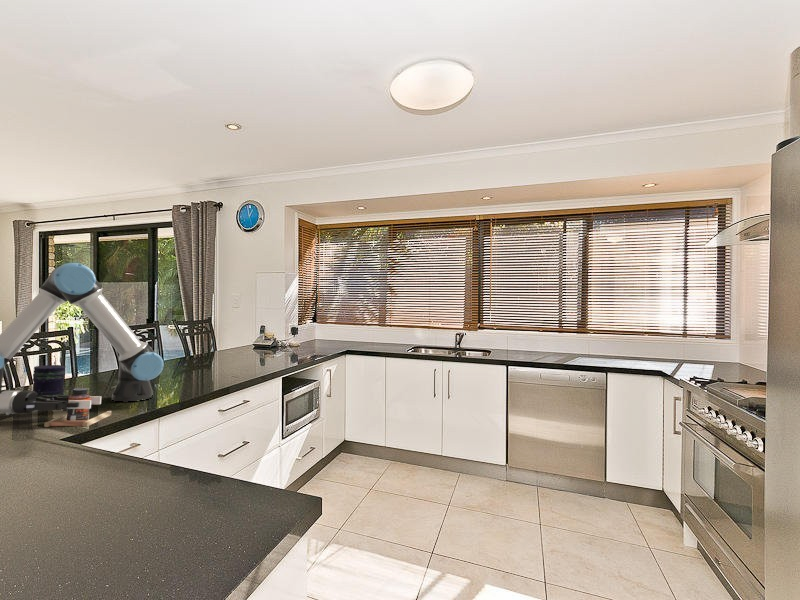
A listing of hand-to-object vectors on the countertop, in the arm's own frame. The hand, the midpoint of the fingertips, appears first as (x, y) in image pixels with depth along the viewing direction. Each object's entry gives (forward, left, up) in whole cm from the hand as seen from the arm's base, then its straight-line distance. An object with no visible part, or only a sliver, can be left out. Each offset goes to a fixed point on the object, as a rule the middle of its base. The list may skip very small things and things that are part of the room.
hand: (95, 402), depth 140 cm
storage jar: (-27, -30, -7) cm, 41 cm away
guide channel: (-1, -5, -7) cm, 8 cm away
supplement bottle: (0, -5, -7) cm, 9 cm away
